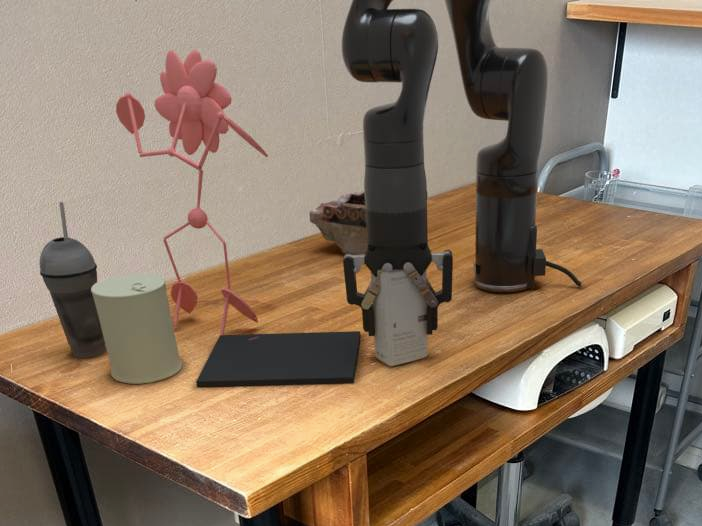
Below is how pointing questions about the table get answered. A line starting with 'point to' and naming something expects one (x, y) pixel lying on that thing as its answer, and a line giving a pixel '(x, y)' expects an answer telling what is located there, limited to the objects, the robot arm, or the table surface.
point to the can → (137, 327)
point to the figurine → (190, 147)
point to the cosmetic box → (399, 319)
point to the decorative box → (343, 222)
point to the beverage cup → (73, 292)
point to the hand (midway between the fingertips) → (400, 333)
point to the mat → (281, 359)
